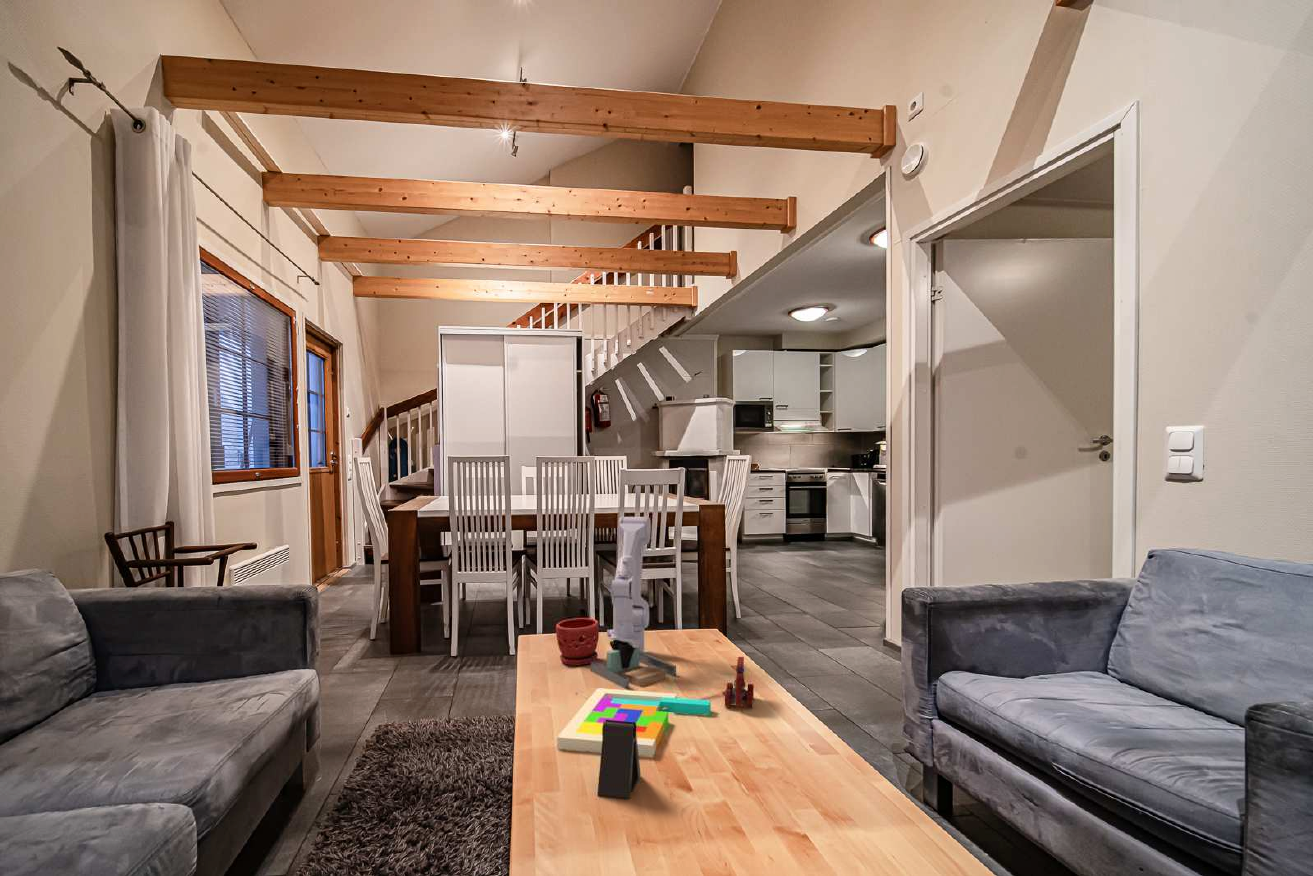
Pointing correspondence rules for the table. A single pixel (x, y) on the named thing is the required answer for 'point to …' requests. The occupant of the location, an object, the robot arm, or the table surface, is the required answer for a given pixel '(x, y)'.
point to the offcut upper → (645, 675)
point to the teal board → (615, 660)
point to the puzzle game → (626, 718)
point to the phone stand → (618, 759)
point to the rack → (624, 680)
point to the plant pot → (578, 640)
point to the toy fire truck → (739, 689)
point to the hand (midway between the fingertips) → (623, 666)
